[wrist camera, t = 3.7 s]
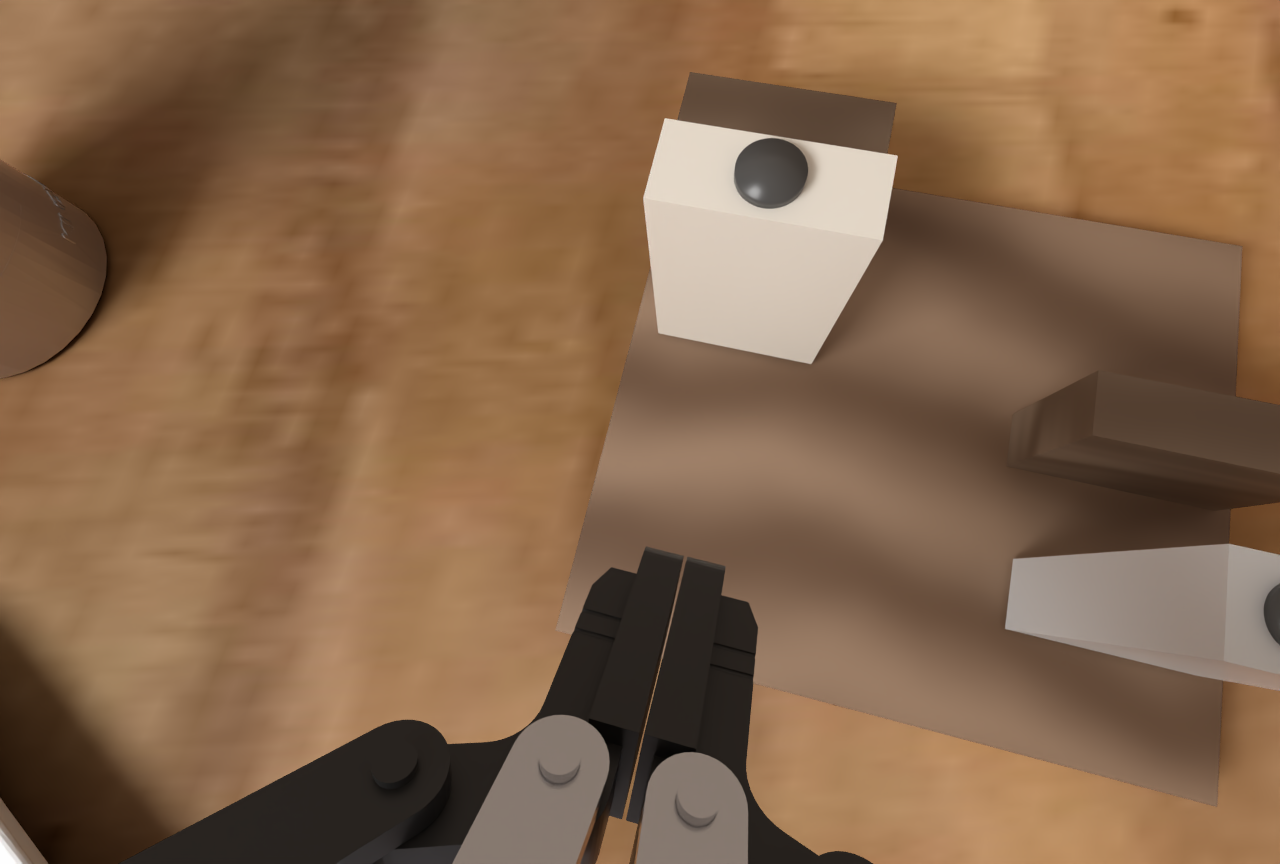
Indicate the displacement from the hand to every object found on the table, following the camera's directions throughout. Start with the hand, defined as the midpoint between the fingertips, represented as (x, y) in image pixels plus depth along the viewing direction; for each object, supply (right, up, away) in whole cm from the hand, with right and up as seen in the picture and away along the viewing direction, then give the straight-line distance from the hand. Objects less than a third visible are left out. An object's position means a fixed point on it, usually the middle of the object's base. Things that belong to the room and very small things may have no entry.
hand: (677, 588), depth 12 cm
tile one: (+3, +7, +13) cm, 15 cm away
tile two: (+15, -3, +10) cm, 18 cm away
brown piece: (+9, +2, +13) cm, 16 cm away
